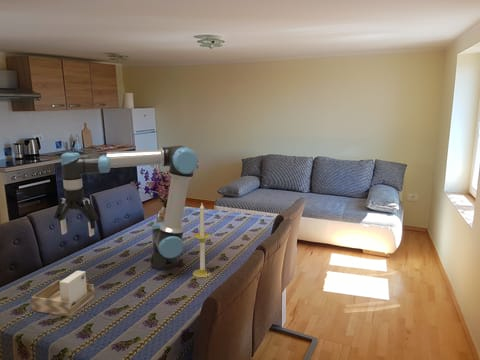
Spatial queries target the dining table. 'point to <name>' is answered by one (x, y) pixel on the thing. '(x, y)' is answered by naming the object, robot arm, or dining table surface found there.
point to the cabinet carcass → (58, 300)
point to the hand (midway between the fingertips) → (78, 234)
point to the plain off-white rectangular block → (73, 287)
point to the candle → (201, 246)
